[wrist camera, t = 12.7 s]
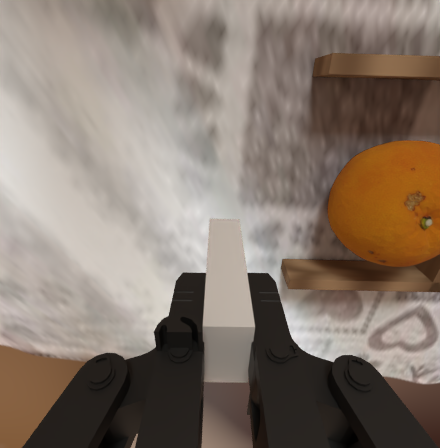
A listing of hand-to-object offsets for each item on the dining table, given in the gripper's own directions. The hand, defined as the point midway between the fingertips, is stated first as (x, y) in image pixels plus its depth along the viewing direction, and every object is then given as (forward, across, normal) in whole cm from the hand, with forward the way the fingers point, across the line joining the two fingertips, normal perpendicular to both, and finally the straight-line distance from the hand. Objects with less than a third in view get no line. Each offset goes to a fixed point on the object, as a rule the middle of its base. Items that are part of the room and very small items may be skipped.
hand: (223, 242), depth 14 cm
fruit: (+12, +14, -1) cm, 19 cm away
